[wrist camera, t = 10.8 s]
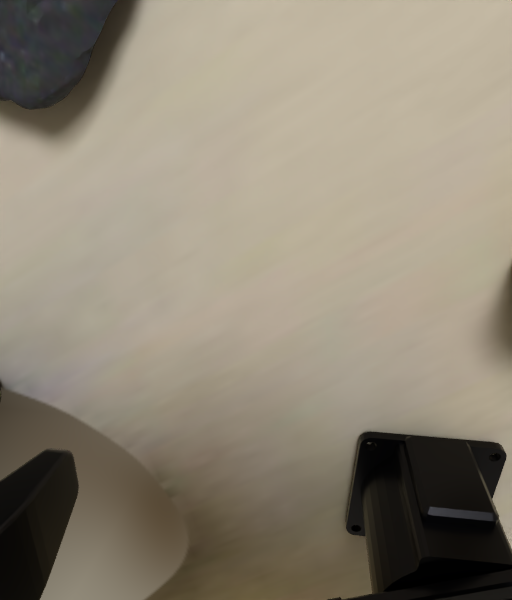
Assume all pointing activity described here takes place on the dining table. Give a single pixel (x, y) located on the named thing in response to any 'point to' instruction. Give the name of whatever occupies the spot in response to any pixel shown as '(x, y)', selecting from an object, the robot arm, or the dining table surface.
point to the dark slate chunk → (46, 47)
